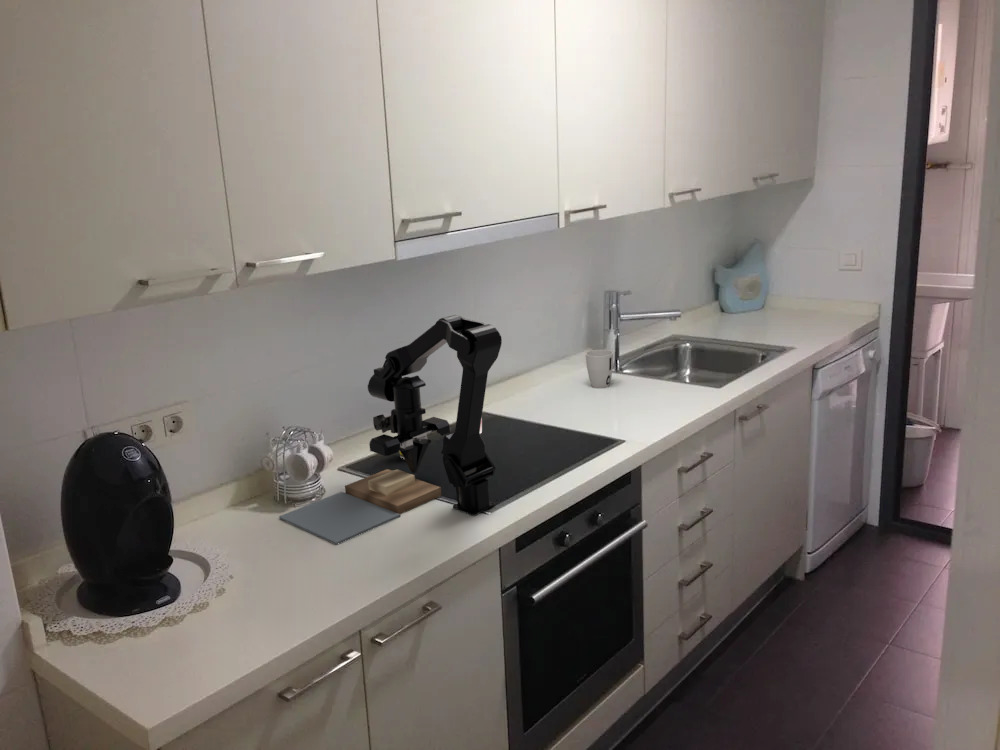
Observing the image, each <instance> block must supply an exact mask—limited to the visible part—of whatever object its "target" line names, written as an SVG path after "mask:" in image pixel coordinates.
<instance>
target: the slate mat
mask: <svg viewBox="0 0 1000 750" xmlns="http://www.w3.org/2000/svg"><path fill="white" fill-rule="evenodd" d="M398 518H401V514H398V513H395V512H393V511H390V510H388V509H385V508H383V507H380V506H377V505H375V504H372V503H370V502H367V501H365V500H362V499H359V498H357V497H354V496H352V495H349V494H347V493H346V492H345V491H340V492H337V493H334V494H332V495H329V496H327V497H324V498H322V499H319V500H317V501H314V502H312V503H310V504H309V503H308V504H307V505H304V506H302V507H299V508H296V509H294V510H291V511H289V512H286V513H283V514H281V515H280V516H278V519H279V520H282V521H284V522H286V523H288V524H290V525H292V526H295V527H297V528H299V529H301V530H304V531H305V532H308V533H309V534H312V535H314V536H317V537H318V538H320V537H321V539H323V540H325V541H327V542H329V541H330V542H329V543H331V542H332V544H333V543H334V544H333V545H336V546H337V545H339V544H338V543H340V544H342V543H344V542H346V541H349V540H351V539H353V538H355V536H356V537H358V536H360V535H362V534H364V532H365V533H366V531H367V532H369V531H371V530H373V528H374V529H375V528H377V527H380V526H382V525H385V524H387V523H389V522H392V521H394V520H396V519H398ZM368 530H369V531H368ZM361 533H362V534H361ZM359 534H360V535H359ZM357 535H358V536H357ZM352 537H353V538H352ZM350 538H351V539H350ZM348 539H349V540H348ZM345 540H346V541H345ZM343 541H344V542H343ZM341 542H342V543H341Z"/></svg>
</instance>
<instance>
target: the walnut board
mask: <svg viewBox="0 0 1000 750" xmlns="http://www.w3.org/2000/svg"><path fill="white" fill-rule="evenodd" d="M391 471H393V470H391V469H388V468H387V469H383V470H381V471H379V472H377V473H373V474H371V475H369V476H366V477H364V478H361V479H359V480H357V481H353V482H351V483H349V484H346V485H344V493H347V494H349V495H352V496H354V497H357V498H359V499H362V500H365V501H367V502H370V503H372V504H375V505H377V506H380V507H383V508H385V509H388V510H390V511H393V512H395V513H398V514H400V515H401V514H403V513H406V512H408V511H410V510H413V509H415V508H417V507H420V506H422V505H423V504H424V505H425V504H427V503H429V502H431V501H434V500H435V499H438V498H439V496H440V497H441V496H442V488H441V486H438V485H435V484H432V483H429V482H426V481H424V480H422V479H418V478H415V484H414V485H411V486H409V487H407V488H404V489H402V490H399V491H397V492H395V493H392V494H390V495H387V496H386V495H383V494H380V493H378V492H375V491H372V490H370V489H369V484H368V480H371V479H374V478H376V477H379V476H381V475H384V474H386V473H389V472H391ZM437 497H438V498H437Z"/></svg>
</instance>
